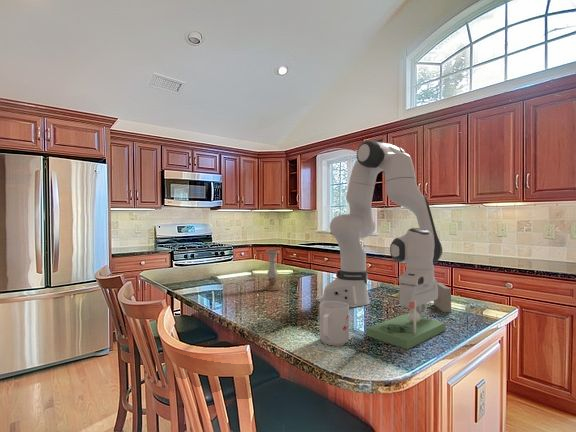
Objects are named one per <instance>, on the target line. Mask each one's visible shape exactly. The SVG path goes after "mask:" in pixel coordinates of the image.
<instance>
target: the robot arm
mask: <svg viewBox="0 0 576 432" xmlns="http://www.w3.org/2000/svg"><path fill="white" fill-rule="evenodd" d="M381 172H382V173H384V178H385V181H384V182H385V191H386V195H387V198H388V199H389V200H390V201H391V202H392V203H393V204H396V205H398V206H400V207H403V208H406V209H407V210H409V211H411V212H412V213H413V214H414V215H415V217H416V220H417V225H418V227H413V228H412V227H411V228H409V229H408V230H406V231H407V232H406V233H404V234H403V235H402V236H399V237H395V238H394V239H393V240H392V242H391V243H390V246H389V247H390V248H389V253H390V256H391V258H392V259H393V260H394V261H395V262H397V263H400V264H406V268H405V269H406V270H405V271H404V272H403V273H402V274H401V275H400V276H399V277H398V283H399V284H400V286H399V291H398V292H399V304H400V306H401V308H404V309H409V303H410V302H413V301H416V311H417V312H418V313H419V314H420V318H421V317H423V318H424V317H425V316H426V310H427V305H428V303H431V302H434V300H436V299H437V298H438V285H437V283H438V281H437V279H436V278H435V266H434V264H436V263H437V262H438V261H439V260H440V259H441V257H442V255H443V246H442V243H441V241H440V238H439V236H438V233H437V230H436V226H435V223H434V218H433V215H432V211H431V208H430V205H429V201H428V198H427V197H426V196H425V195H424V194H423V193H422V192H421V190H420V188H419V186H418V184H417V178H416V170H415V166H414V162H413V159H412V157H411V155H410V154H408V153H406V151H405V150H404V149H403V148H402V147H400V146H398V145H394V144H392V143H388V142H382V141H381V142H380V141H376V140H365V141H363V142H361V143H360V144H359V146H358V147H357V150H356V160H355V162H354V165H353V167H352V169H351V174H350V177H349V182H348V187H347V192H346V195H345V196H346V197H345V198H346V202H347V203H348V206H349V213H348V214H347V213H344V214H343V213H342V214H340V215H337V216H334V217H333V218H332V219H331V221H330V223H329V231H330V233H331V235H332V236H333V237H334V238H335V239H336V242H337V245H338V248H339V252H340V253H339V254H340V269H339V268H337V269H336V271H335V275H336V276H335V277H336V278H335V279H333V280H331V281H330V282H329V283H328V284H327V285H326V286H325V287H324V290H323V294H322V295H321V296H319V298H318V303H319V302H320V303H322V302H326V301H339V302H344V303H347V304H348V305H349V308H355V307H362V306H367V305H369V304H370V303H371V301H370V298H369V293H368V270H367V253H366V250H365V249H364V248H363V246H362V244H361V243H362V242H361V239H365V238H368V237H369V236H372V234H374V232H375V230H376V222H375V221H374V219H373V213H372V212H373V210H372V203H373V202H372V201H373V196H374V191H375V186H376V181H377V177H378V174H380V173H381ZM320 303H319V304H320Z"/></svg>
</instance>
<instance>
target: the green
mask: <svg viewBox="0 0 576 432" xmlns="http://www.w3.org/2000/svg"><path fill="white" fill-rule="evenodd" d="M411 310H412V311H413V323H412V322H410V321H409V320H408V317H407V316H408V313H403V314H401V315H399V316H395V317H393V318H390V319H387V320H386V321H382V322H380V323H379V322H378V323H377V324H374V325H371V326H368V327H366V337H368V336H369V338H371V337H372V339H375V340H379V341H380V342H384V343H387V344H390V345H393V346H396V347H399V348H403V349H405V350H410V349H411V348H413V347H415V346H417V345H419V344H421V343H423V342H425V341H427V340H429V339H431V338H433V337H435V336H437V335H439V334H441V333H442V332H445V331H446V322H443V321H439V320H435V319H430V318H427V317H424V316H423V317H421V318H420V321H419V322H417V323H416V301H413V302H410V303H409V311H411Z"/></svg>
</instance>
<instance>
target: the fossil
mask: <svg viewBox="0 0 576 432" xmlns="http://www.w3.org/2000/svg"><path fill="white" fill-rule="evenodd" d="M437 285H438V298H437V299H436V300H434V301H433V305H434V306H435V307H436V308H437V309H438V310H440V311H441V312H442V313H452V291H451V290H452V289H451V288H450V287H448V286H446V285H445V284H444V283H442V282H437Z"/></svg>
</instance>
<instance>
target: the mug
mask: <svg viewBox="0 0 576 432" xmlns="http://www.w3.org/2000/svg"><path fill="white" fill-rule="evenodd" d="M318 309H319V313H318V314H319V319H318V320H319V339H320V341H321V342H322V343H323V342H324V343H325V344H324V343H323V344H324V345H326V344H328V345H327V346H330V345H333V346H332V347H340V346H344V345H346V344H345V343H348V341H349V340H350V307H349V305H348V304H347V303H344V302H339V301H326V302H322V303H319V307H318Z"/></svg>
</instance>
